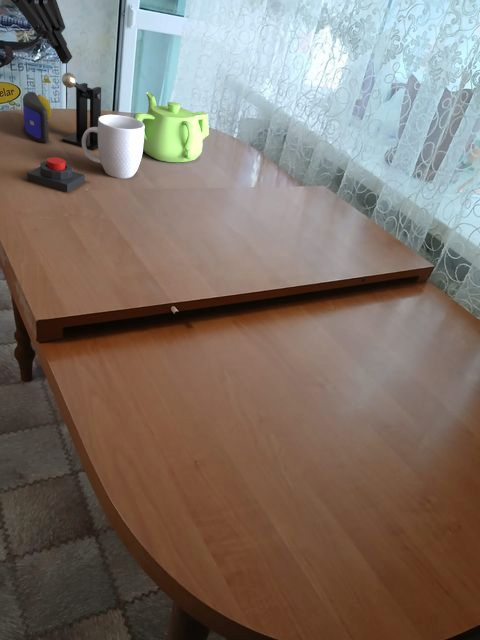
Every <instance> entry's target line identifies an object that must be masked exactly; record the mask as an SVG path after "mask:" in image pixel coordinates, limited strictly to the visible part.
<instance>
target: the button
mask: <svg viewBox="0 0 480 640" xmlns="http://www.w3.org/2000/svg"><path fill="white" fill-rule="evenodd" d="M46 161H47V168H49V169H52V170H64V169H66V168H65V163H66V160H65V159H63V158H60V157H48V158H47V159H46Z"/></svg>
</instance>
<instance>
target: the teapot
mask: <svg viewBox="0 0 480 640" xmlns="http://www.w3.org/2000/svg"><path fill="white" fill-rule="evenodd" d="M145 95H146V97H147V100H148V108H147V112H146V113H144V112H137V113H135V114H134V115H133V118H134V119H137V120H139V121H141V122H142V123H143V124H144V143H143V152H144V153H145V154H146V155H148V156H150V157H151V158H153V159H155V160H158V161H161V162H167V163H186V162H191V161H194V160H196V159H197V158H199V156H200V155H201V154H202V152H203V140H204V139H206V138H207V137H208V136H209V135H210V130H209V129H210V128H209V115H208V113H206V112H205V111H194V112H191V110H188V109H186V108H184V107H181V105H182V104H180V103H179V102H176V101H168V102H167V105H157V100H156V98H155V96H154V94H152V93H151V92H149V91H146V92H145Z"/></svg>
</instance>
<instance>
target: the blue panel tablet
mask: <svg viewBox="0 0 480 640" xmlns="http://www.w3.org/2000/svg"><path fill="white" fill-rule="evenodd" d="M22 110H23V125H24V126H23V127H24V132H25V134H26V135H27V136H28V137H29V138H30V139H31V140H33V141H35V142H37V143H40V144H47V143H48V142H49V125H48V124H49V123H48V120H47V111H46V108H45V107H44V105H43V104H42V102H41V101H40V99H39V98H38V94H37V93H36V92H34V91H28V92H26V93H25V94H24V95H23V96H22Z"/></svg>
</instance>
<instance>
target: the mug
mask: <svg viewBox="0 0 480 640" xmlns="http://www.w3.org/2000/svg"><path fill="white" fill-rule="evenodd" d="M90 132H95V133H97V134H98V148H97V149H98V156H99V158H98V157H95V156H94V155H92V154H91V153H90V152H89V149H87V147H86V138H87V135H88V134H89V133H90ZM143 143H144V124H143V123H142V122H141V121H139V120H137V119H134V117H131V116H127V115H121V114H105V115H101V116H100V117H99V118H98V127H91V128H90V127H88V128H87V130H86V131H85V133H84V134H83V137H82V147H81V149H82V151H83V154H84V155H85V156H86V158H87V159H89V160H90V161H91V162H94V163H97V164H99V165H101V166H102V169H103V170H104V172H105V173H106V175H108V176H110V177H113V178H117V179H129V178H132V177H134V176H135V174H136V172H137V171H138V169H139V167H140V164H141V161H142V158H143V152H144V151H143Z"/></svg>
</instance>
